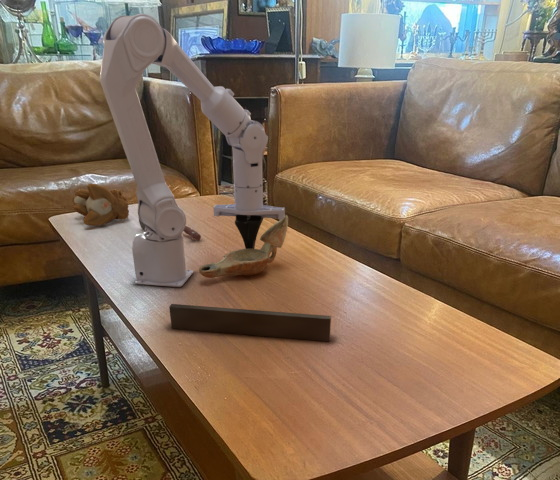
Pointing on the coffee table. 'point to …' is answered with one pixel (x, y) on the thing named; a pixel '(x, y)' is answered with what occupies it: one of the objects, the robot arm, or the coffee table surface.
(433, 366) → the coffee table surface
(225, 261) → the oil lamp
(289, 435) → the coffee table surface
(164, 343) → the coffee table surface
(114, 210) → the stuffed squirrel
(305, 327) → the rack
